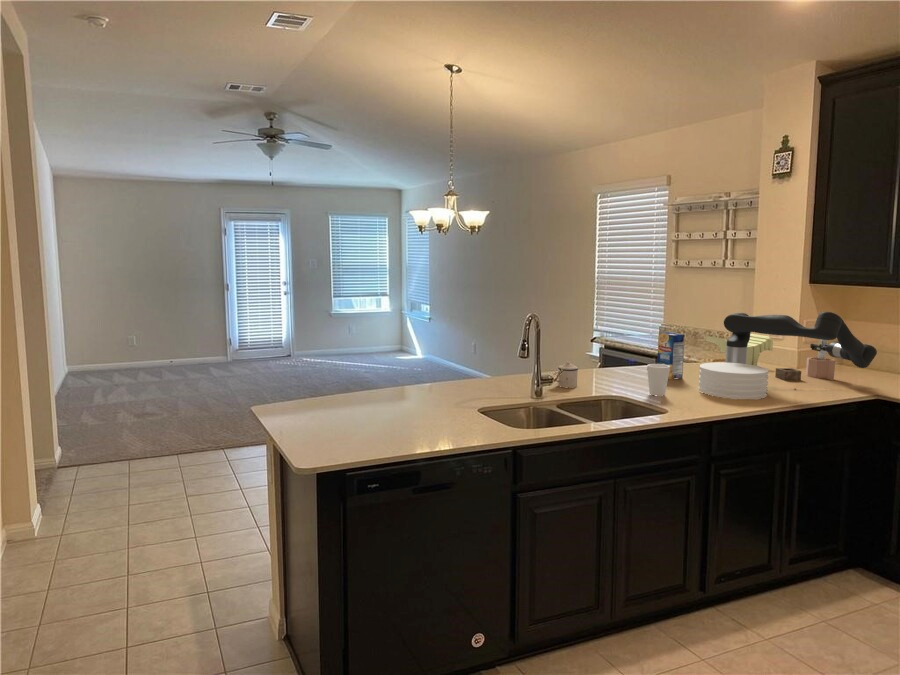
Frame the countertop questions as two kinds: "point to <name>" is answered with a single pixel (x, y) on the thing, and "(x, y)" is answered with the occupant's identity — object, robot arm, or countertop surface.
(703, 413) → the countertop surface
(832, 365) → the utensil crock
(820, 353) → the tongs
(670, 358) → the beverage box
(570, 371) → the teacup with lid
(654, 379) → the foam cup
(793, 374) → the tong rest
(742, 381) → the plate stack
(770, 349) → the slatted curved stool
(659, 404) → the countertop surface
